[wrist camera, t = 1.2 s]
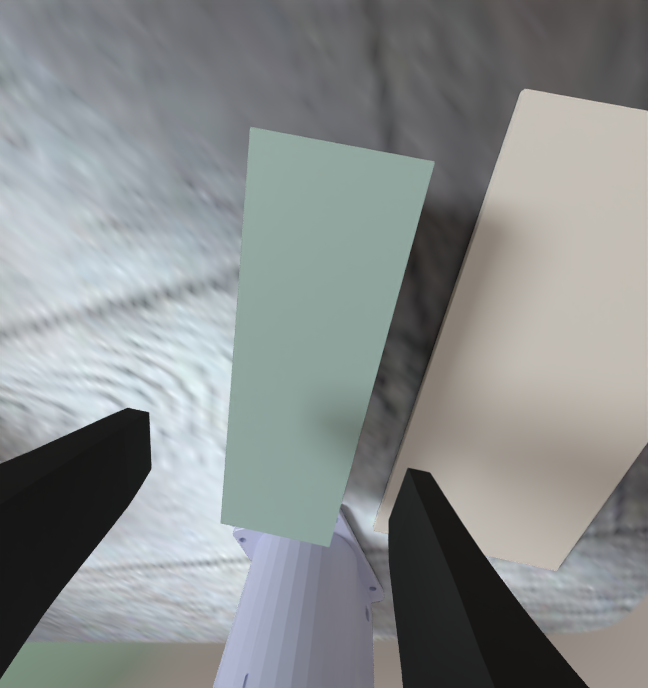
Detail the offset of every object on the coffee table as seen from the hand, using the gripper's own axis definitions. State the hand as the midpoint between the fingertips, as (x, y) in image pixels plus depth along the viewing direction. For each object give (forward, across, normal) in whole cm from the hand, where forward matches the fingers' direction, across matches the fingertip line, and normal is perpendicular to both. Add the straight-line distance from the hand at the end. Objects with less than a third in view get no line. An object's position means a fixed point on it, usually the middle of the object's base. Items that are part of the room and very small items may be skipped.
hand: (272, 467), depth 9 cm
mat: (+9, -12, 0) cm, 15 cm away
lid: (+6, 0, 0) cm, 6 cm away
